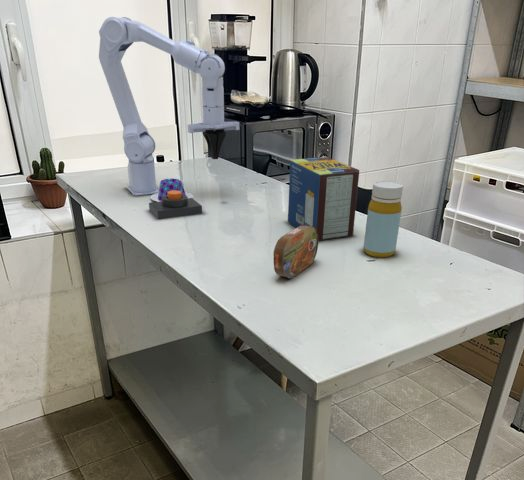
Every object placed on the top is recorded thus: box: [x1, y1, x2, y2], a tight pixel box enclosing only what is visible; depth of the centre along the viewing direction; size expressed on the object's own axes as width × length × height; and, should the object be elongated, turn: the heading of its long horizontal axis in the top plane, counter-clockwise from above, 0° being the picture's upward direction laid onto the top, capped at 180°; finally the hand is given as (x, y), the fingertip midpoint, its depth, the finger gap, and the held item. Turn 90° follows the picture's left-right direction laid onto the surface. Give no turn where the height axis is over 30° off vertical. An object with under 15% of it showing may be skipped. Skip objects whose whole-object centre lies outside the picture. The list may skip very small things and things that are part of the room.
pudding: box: [150, 178, 194, 202], centre depth 152 cm, size 12×12×5 cm
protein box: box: [287, 156, 360, 242], centre depth 129 cm, size 10×15×16 cm
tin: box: [273, 226, 319, 279], centre depth 109 cm, size 15×3×8 cm, turn 148°
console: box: [148, 194, 203, 220], centre depth 142 cm, size 12×8×4 cm, turn 116°
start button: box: [167, 190, 182, 200], centre depth 141 cm, size 4×4×2 cm
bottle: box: [363, 180, 404, 258], centre depth 117 cm, size 7×7×15 cm
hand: (214, 158), depth 152 cm, fingers closed
